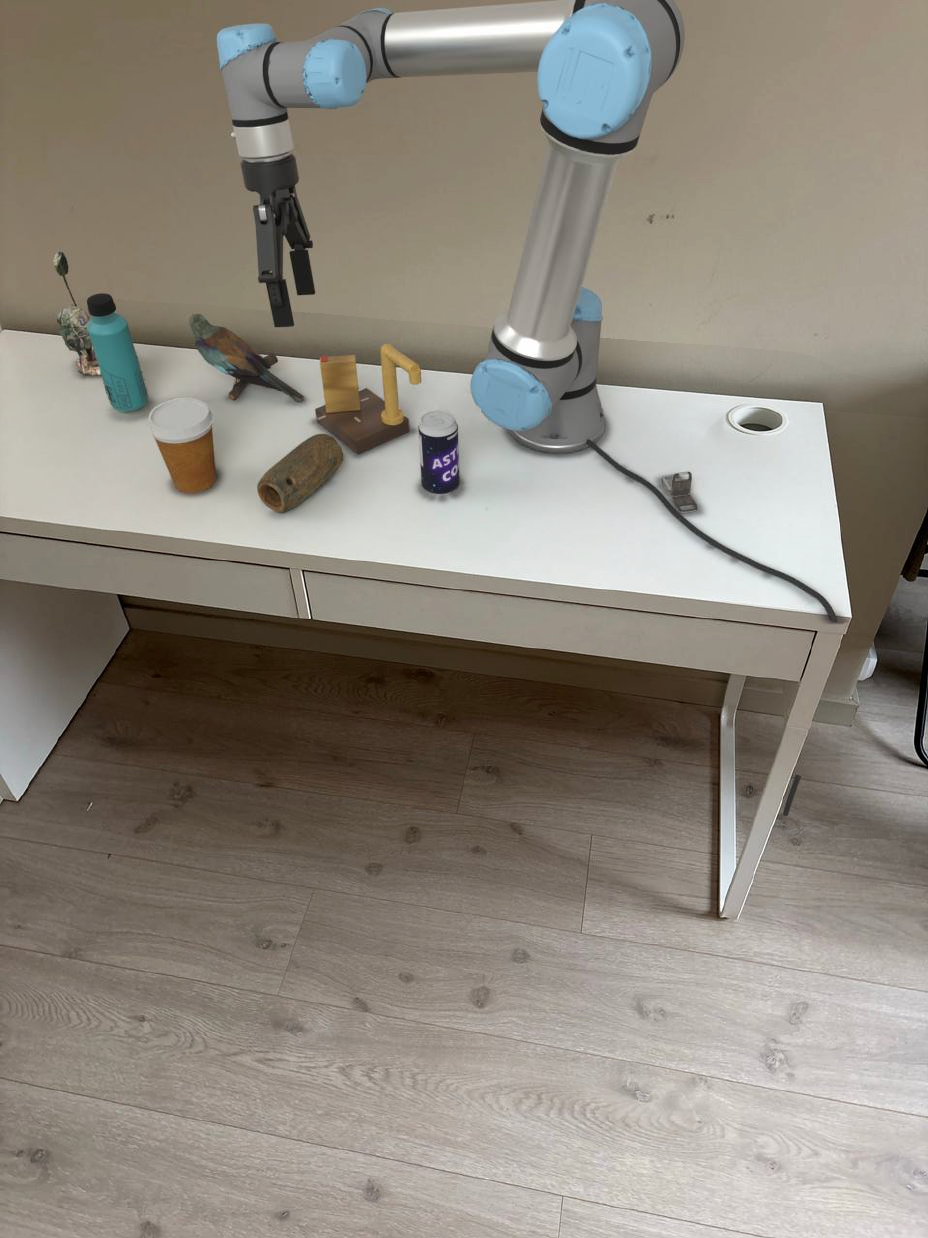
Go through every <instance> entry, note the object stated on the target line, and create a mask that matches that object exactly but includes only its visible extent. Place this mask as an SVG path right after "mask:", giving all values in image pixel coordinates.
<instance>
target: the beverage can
mask: <svg viewBox="0 0 928 1238" xmlns="http://www.w3.org/2000/svg"><path fill="white" fill-rule="evenodd" d="M417 428H418V429H417V430H418V445H419V446H418V447H419V462H420V463H419V464H420V465H419V466H420V478H421V479H420V481H421V487H422V488H423V490H425V491H426V492H428V493H429V494H431V495H433V496H439V497H442V496H443V497H444V496H448V495H450V494H452V493H453V492H454V491H455V490H456V489H457V488H458V487H459V486H460V451H459V449H460V448H459V425H458V422H457V421H456V417H455V415H454V414H453V413H452V412H450V411H448V410H445V409H433V410H429V411H427V412H425V413H423V415H422V416H421V417H420V422H419V424H418V427H417Z"/></svg>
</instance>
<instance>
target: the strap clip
mask: <svg viewBox="0 0 928 1238" xmlns="http://www.w3.org/2000/svg"><path fill="white" fill-rule="evenodd" d="M685 475H688V478H683V476H685ZM692 481H693V475H692V472H691V471H690V470H689V471H681V472H675V473H674V474H667V475H663V476H662V477H661V482H662V486H663V487H664V489H665V491H666V492H667V493H668V494H669V495H671V496H672V498H671V501H672V503H673V505H674V508H675V509H676V510H677V511H678V512H679V513H680V514H686V513H692V512H693V513H694V512H697V511H698V505H697V503H696V502H695V500H694V498H693V497H692V496H691V495H690V493H691V488H692ZM692 507H693V508H692ZM685 508H688V509H685Z"/></svg>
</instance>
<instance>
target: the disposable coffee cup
mask: <svg viewBox="0 0 928 1238" xmlns="http://www.w3.org/2000/svg"><path fill="white" fill-rule="evenodd" d="M214 421H215V415H214V413H213V411H212V410H211V409H210V407H209V406H208V405H207V404H206V403H205V402H204V401H203V400H201V399H199V398H194V397H178V398H172V399H169V400H165V401H163V402H160V403H159V404H157V405H156V406H155V407H154V408H152V409H151V411H150V412H149V414H148V421H147V424H146V426H147V427H146V428H147V430H148V433H149V434H150V435H151V436H152V437H153V439H154V441H155V443H156V446H157V447H158V450H159V452H160V455H161V458H162V460H163V462H164V464H165V466H166V468H167V470H168V473H169V476H170V477H171V480H172V482H173V485H174V487H175V489H177V490H178V491H179V492H181V493H185V494H197V493H201V492H204V491H207V490H209V489H210V488H212V487H213V486H214V485H215V483H216V481H217V472H216V471H217V470H216V458H215V445H214V435H213V424H214Z"/></svg>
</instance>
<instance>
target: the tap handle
mask: <svg viewBox="0 0 928 1238" xmlns="http://www.w3.org/2000/svg"><path fill="white" fill-rule="evenodd" d="M319 366H320V374H321V381H322V390H323V398H324V405H325V406H326V413H333V412H344V411H356V410H361V408H360V398H359V391H360V389H359V381H358V379H359V378H358V370H357V361H356V355H355V354H347V355H335V356H334V355H333V356H328V355H322V356H320V357H319Z"/></svg>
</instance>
